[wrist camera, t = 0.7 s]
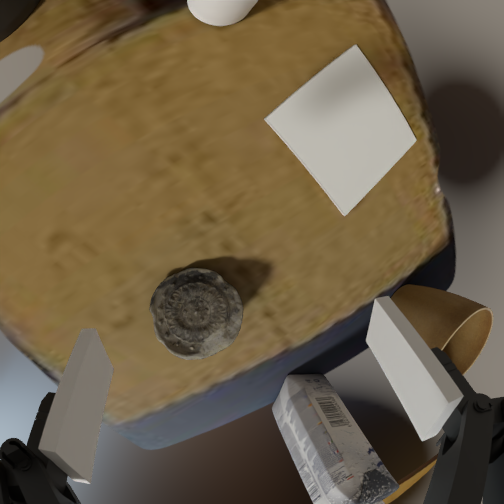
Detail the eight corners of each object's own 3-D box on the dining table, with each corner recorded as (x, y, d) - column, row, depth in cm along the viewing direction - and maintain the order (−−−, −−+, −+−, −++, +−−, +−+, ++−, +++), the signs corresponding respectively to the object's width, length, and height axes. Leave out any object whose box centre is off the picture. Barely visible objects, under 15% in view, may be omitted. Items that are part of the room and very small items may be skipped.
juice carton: (264, 410, 50) (321, 539, 26) (283, 369, 47) (361, 512, 23) (307, 407, 53) (371, 521, 29) (329, 368, 50) (412, 489, 26)
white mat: (263, 119, 32) (265, 118, 31) (353, 45, 31) (355, 44, 30) (342, 214, 39) (345, 216, 39) (413, 139, 38) (416, 140, 37)
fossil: (203, 244, 35) (246, 312, 29) (233, 277, 43) (271, 334, 37) (132, 298, 35) (160, 370, 29) (171, 321, 42) (201, 381, 37)
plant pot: (423, 322, 53) (476, 368, 39) (363, 347, 50) (415, 407, 36) (437, 254, 47) (504, 295, 33) (373, 273, 44) (444, 330, 30)
